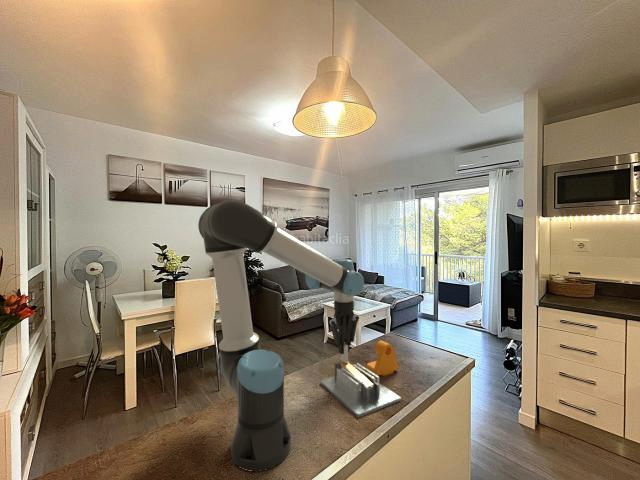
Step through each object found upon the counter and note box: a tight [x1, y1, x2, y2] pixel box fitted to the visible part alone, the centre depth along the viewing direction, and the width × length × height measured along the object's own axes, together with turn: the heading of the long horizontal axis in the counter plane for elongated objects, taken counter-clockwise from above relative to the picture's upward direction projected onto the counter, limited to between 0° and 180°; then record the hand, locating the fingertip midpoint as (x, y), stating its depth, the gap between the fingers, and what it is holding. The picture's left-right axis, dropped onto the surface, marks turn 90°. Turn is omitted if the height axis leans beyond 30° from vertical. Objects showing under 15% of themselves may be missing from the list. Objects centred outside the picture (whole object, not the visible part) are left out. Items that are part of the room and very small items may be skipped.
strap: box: [340, 361, 376, 390], centre depth 99 cm, size 17×3×1 cm, turn 30°
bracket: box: [366, 340, 399, 377], centre depth 114 cm, size 11×7×12 cm, turn 120°
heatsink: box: [319, 361, 402, 419], centre depth 98 cm, size 23×18×6 cm
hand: (344, 361), depth 106 cm, fingers closed
